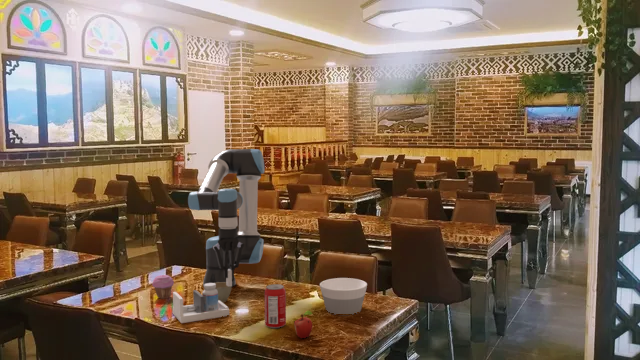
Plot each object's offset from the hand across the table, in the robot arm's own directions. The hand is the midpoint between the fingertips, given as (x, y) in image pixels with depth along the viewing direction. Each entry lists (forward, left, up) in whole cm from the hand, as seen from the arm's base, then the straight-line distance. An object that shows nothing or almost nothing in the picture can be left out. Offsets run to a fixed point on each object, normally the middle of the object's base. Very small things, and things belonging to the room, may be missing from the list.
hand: (229, 285), depth 233 cm
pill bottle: (+8, 0, -10) cm, 13 cm away
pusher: (+14, 0, -10) cm, 17 cm away
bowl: (-41, +22, -11) cm, 47 cm away
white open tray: (+12, 0, -10) cm, 16 cm away
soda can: (-9, +27, -10) cm, 30 cm away
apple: (-13, +43, -11) cm, 46 cm away
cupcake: (+19, -32, -11) cm, 39 cm away
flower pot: (-1, -14, -11) cm, 18 cm away
